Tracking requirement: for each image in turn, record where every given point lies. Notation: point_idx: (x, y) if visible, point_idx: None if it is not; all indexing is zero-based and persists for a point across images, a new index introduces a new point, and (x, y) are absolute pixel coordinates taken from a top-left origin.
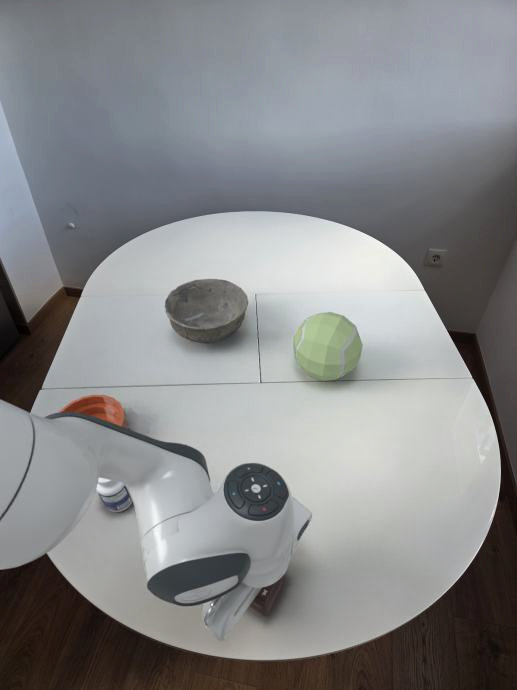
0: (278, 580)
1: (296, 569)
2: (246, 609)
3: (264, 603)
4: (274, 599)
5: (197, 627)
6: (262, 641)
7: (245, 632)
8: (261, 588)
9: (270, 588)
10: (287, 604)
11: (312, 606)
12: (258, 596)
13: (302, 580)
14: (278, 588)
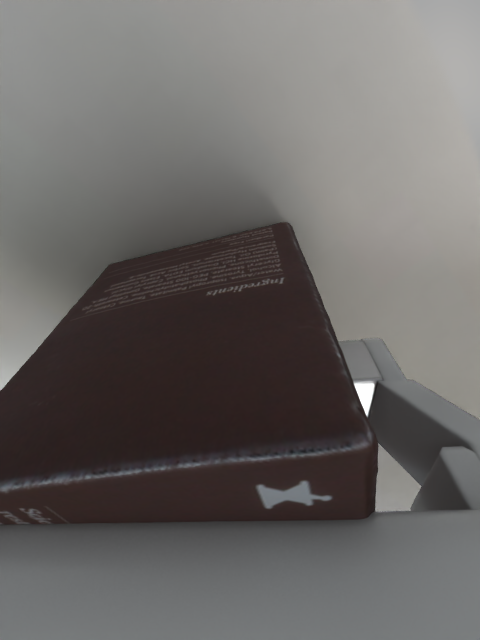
0: (78, 429)
1: (25, 252)
2: (365, 346)
3: (360, 401)
4: (206, 256)
5: (465, 379)
6: (393, 156)
7: (398, 249)
8: (299, 589)
9: (205, 486)
10: (164, 176)
11: (34, 29)
12: (366, 508)
13: (20, 195)
14: (146, 293)
